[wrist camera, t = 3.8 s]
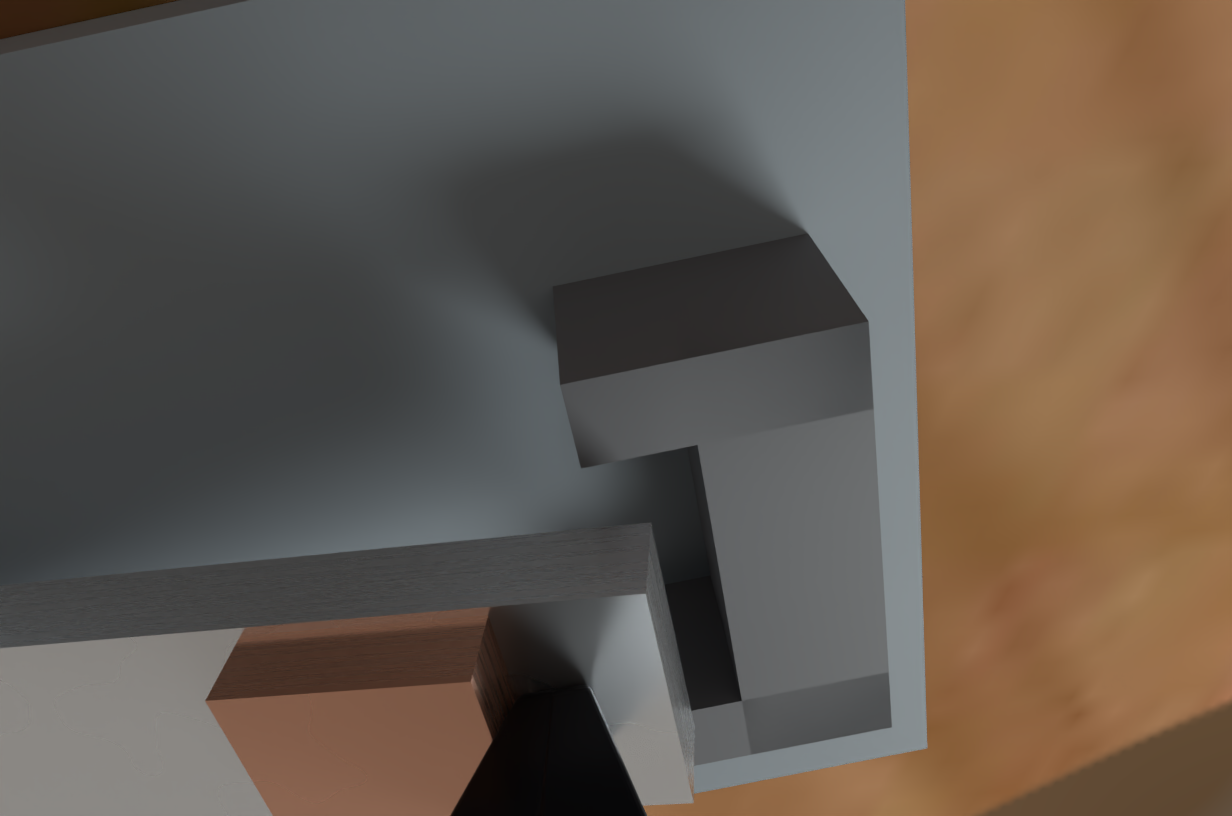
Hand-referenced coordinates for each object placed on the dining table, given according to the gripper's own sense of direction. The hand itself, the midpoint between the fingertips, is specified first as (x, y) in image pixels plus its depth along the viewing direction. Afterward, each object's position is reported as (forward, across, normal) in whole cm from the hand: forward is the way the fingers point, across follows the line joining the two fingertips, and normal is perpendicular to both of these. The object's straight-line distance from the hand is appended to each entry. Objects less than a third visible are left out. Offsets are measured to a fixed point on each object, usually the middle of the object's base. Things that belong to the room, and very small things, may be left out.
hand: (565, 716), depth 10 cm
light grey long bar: (+2, +6, 0) cm, 7 cm away
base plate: (+5, +6, 0) cm, 7 cm away
